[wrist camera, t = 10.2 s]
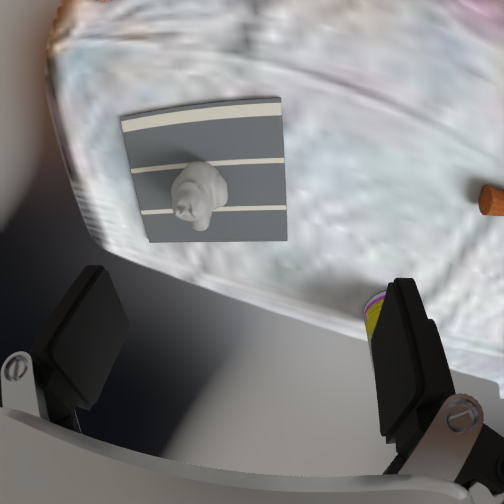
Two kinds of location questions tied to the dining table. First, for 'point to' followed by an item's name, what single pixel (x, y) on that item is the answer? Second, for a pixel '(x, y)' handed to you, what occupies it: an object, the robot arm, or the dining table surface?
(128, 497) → the robot arm
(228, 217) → the mat
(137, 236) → the dining table surface
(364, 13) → the dining table surface
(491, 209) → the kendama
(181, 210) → the grey lumpy piece
